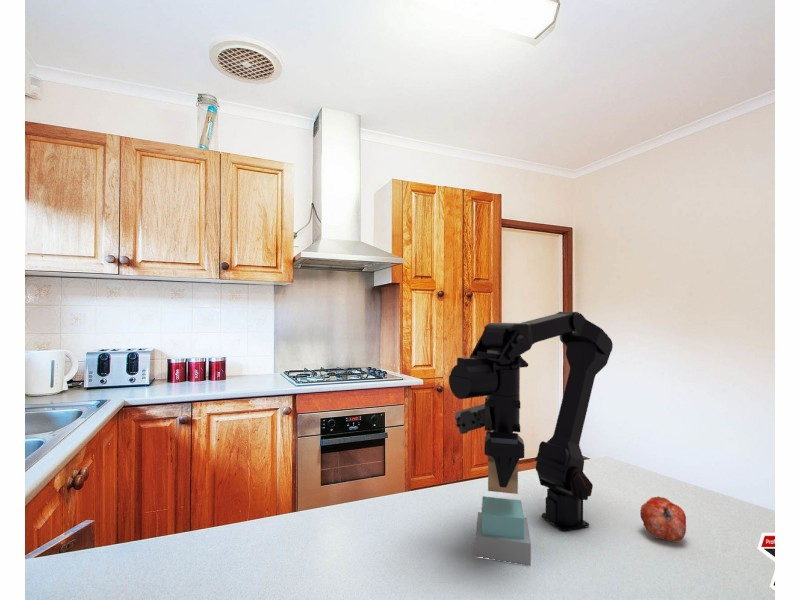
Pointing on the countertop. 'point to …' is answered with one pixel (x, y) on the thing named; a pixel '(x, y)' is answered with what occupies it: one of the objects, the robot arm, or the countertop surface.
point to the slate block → (503, 546)
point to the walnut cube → (494, 482)
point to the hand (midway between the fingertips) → (502, 480)
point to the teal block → (502, 517)
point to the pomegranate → (663, 519)
